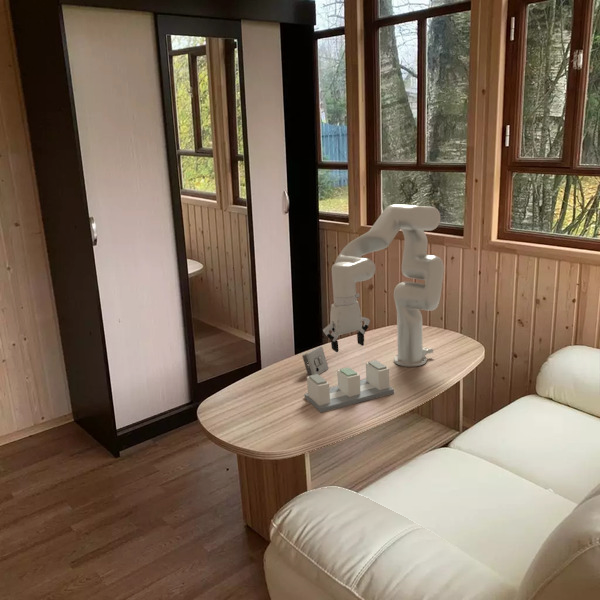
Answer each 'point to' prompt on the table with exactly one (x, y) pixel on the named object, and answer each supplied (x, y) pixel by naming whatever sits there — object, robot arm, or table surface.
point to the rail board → (342, 399)
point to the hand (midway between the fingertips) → (348, 347)
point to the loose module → (348, 381)
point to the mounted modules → (374, 375)
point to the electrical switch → (315, 361)
